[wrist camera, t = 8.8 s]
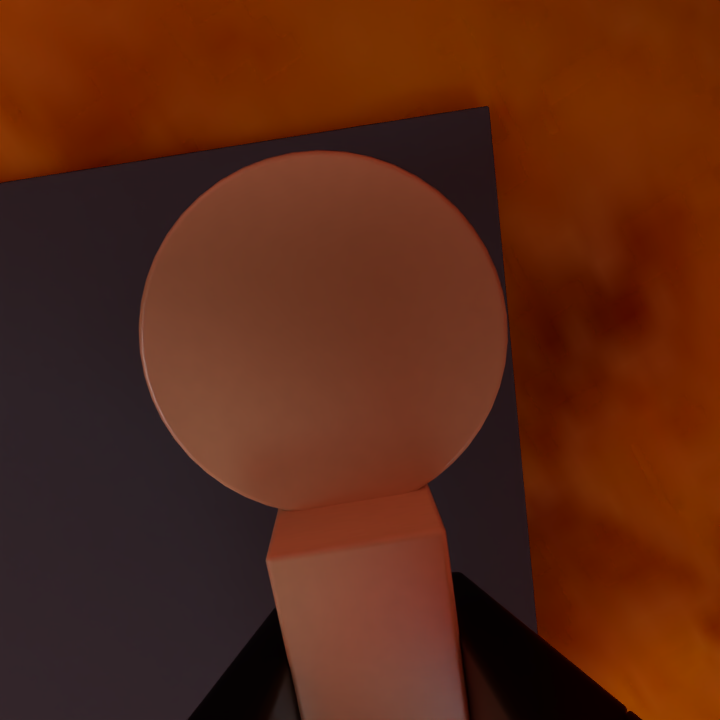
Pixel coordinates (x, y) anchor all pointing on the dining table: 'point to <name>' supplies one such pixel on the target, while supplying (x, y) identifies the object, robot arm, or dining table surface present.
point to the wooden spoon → (335, 406)
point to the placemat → (161, 451)
